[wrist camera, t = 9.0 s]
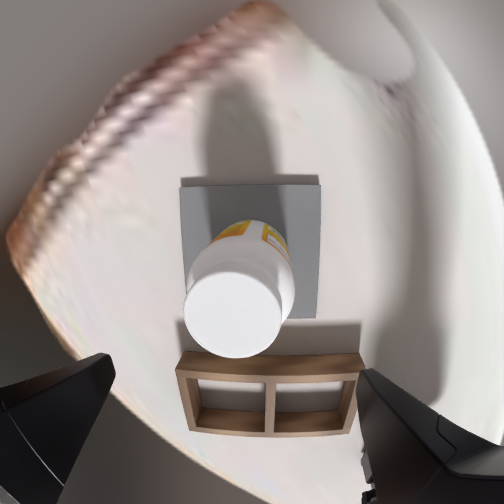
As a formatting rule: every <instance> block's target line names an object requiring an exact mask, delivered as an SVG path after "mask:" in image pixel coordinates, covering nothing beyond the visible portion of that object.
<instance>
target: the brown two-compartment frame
mask: <svg viewBox="0 0 504 504" xmlns="http://www.w3.org/2000/svg"><path fill="white" fill-rule="evenodd" d="M362 369H366V368H365V365H364V363H363V361H362V358H361V356H360V354H359V353H352V354H335V355H307V356H260V355H253V356H250V357H245V358H227V357H222V356H219V355H216V354H214V353H201V352H189V351H184V353H183V355H182V357H181V359H180V361H179V362H178V364H177V366H176V368H175V372H176V376H177V381H178V386H179V390H180V395H181V399H182V403H183V408H184V412H185V416H186V420H187V424H188V427H189V431H195V432H203V433H211V434H221V435H232V436H247V437H315V436H329V435H341V434H349V432H350V429H351V426H352V423H353V420H354V417H355V414H356V411H357V407H358V406H357V399H356V385H357V381H358V376H359V373H360V370H362ZM197 379H203V380H214V381H228V382H246V383H266V403H265V412H243V411H228V410H216V409H207V408H202V404H201V398H200V393H199V387H198V381H197ZM337 381H345V384H344V389H343V393H342V397H341V402H340V406H339V410H335V411H320V412H290V413H275V396H276V383H319V382H337Z"/></svg>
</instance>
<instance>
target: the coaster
mask: <svg viewBox="0 0 504 504" xmlns="http://www.w3.org/2000/svg"><path fill="white" fill-rule="evenodd" d="M179 195H180V217H181V234H182V249H183V262H184V274H185V285H186V295H187V278H188V274H189V271H190V268H191V266H192V264H193V262H194V260H195V259H196V258H197V256H198V255H199V254H200V253H201V251H202V250H203V249H204V248H206V247H207V246H208V245H209V244H210V243H211V242H212V241H213V240H214V239H215V238H216V237H217V236H218V235H219V234H220V233H221V232H222V231H224V230H225V229H226V228H227V227H229V226H230V225H232V224H234V223H237V222H240V221H244V220H257V221H261V222H264V223H267V224H269V225H270V226H272V227H273V228H275V229H276V230H277V231H278V232H279V233H280V234H281V236H282V237H283V239H284V240H285V243H286V245H287V248H288V251H289V256H290V261H291V266H292V271H293V276H294V282H295V297H294V302H293V306H292V309H291V311H290V313H289V315H288V317H287V318H286V319H301V318H316V307H317V293H318V276H319V256H320V225H321V185H223V186H200V187H182V188H179Z"/></svg>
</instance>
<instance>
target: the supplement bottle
mask: <svg viewBox="0 0 504 504" xmlns="http://www.w3.org/2000/svg"><path fill="white" fill-rule="evenodd" d="M294 297H295V282H294V276H293V271H292V266H291V261H290V256H289V251H288V248H287V245H286V243H285V240H284V239H283V237H282V236H281V234H280V233H279V232H278V231H277V230H276V229H275V228H273V227H272V226H270V225H269V224H267V223H264V222H261V221H257V220H244V221H240V222H237V223H234V224H232V225H230V226H229V227H227V228H226V229H225V230H224V231H222V232H221V233H220V234H219V235H218V236H217V237H216V238H215V239H214V240H213V241H212V242H211V243H210V244H209V245H208V246H207V247H206V248H204V249H203V250H202V251H201V253H200V254H199V255H198V256H197V258H196V259H195V260H194V262H193V264H192V266H191V268H190V271H189V274H188V278H187V295H186V298H185V301H184V308H183V314H184V320H185V324H186V327H187V329H188V331H189V333H190V334H191V336H192V337H193V338H194V339H195V341H196V342H197V343H198V344H200V345H201V346H202V347H203V348H205V349H206V350H208V351H210V352H212V353H214V354H216V355H219V356H222V357H227V358H245V357H250V356H253V355H256V354H258V353H260V352H262V351H263V350H265V349H266V348H267V347H268V346H270V345H271V344H272V342H273V341H274V340H275V338H276V337H277V335H278V333H279V330H280V327H281V324H282V323H283V322H284V321H285V320H286V318H287V317H288V315H289V313H290V311H291V309H292V306H293V302H294Z"/></svg>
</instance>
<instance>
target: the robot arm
mask: <svg viewBox="0 0 504 504" xmlns="http://www.w3.org/2000/svg"><path fill="white" fill-rule="evenodd" d="M115 375H116V372H115V368H114V365H113V362H112V359H111V356H110V355H109V354H105V353H98V354H95V355H93V356H90V357H88V358H85V359H82V360H80V361H77V362H74V363H72V364H69V365H66V366H64V367H61V368H58V369H55V370H53V371H50V372H47V373H44V374H41V375H39V376H36V377H33V378H30V379H27V380H24V381H21V382H18V383H15V384H12V385H8V386H5V387H0V504H57V502H58V500H59V498H60V495H61V493H62V491H63V488H64V485H65V484H66V481H67V479H68V477H69V475H70V473H71V470H72V468H73V466H74V464H75V462H76V460H77V458H78V456H79V454H80V451H81V450H82V448H83V446H84V443H85V442H86V440H87V438H88V435H89V433H90V431H91V430H92V428H93V426H94V424H95V422H96V420H97V418H98V416H99V414H100V412H101V410H102V408H103V406H104V404H105V401H106V399H107V396H108V394H109V391H110V389H111V386H112V384H113V381H114V379H115ZM356 399H357V406H358V413H359V421H360V428H361V432H362V436H363V440H364V444H365V448H366V452H365V454H364V456H363V458H362V460H361V466H363V470H364V475H365V479H366V483H367V484H371V487H372V490H369V491H365V492H363V493H362V504H504V446H500V445H496V444H494V443H492V442H489V441H487V440H485V439H483V438H481V437H479V436H477V435H475V434H473V433H471V432H469V431H467V430H465V429H463V428H461V427H459V426H458V425H456V424H454V423H453V422H451V421H449V420H448V419H446V418H445V417H443V416H442V415H439V414H438V413H437V412H436V411H434V410H433V409H431V408H430V407H428V406H427V405H425V404H424V403H422V402H421V401H419V400H418V399H416V398H415V397H413V396H412V395H410V394H409V393H407V392H406V391H404V390H403V389H401V388H400V387H399V386H397V385H396V384H394V383H393V382H391V381H390V380H388V379H387V378H385V377H384V376H383V375H381V374H380V373H378V372H377V371H375V370H374V369H372V368H369V369H362V370H360V373H359V376H358V381H357V385H356Z"/></svg>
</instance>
